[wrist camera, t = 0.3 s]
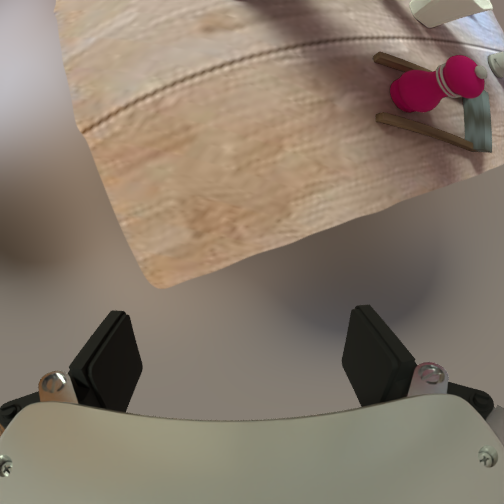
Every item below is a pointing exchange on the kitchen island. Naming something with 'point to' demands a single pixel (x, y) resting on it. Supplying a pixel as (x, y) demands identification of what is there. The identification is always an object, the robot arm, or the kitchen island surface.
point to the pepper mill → (438, 84)
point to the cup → (446, 10)
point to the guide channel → (475, 130)
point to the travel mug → (497, 64)
